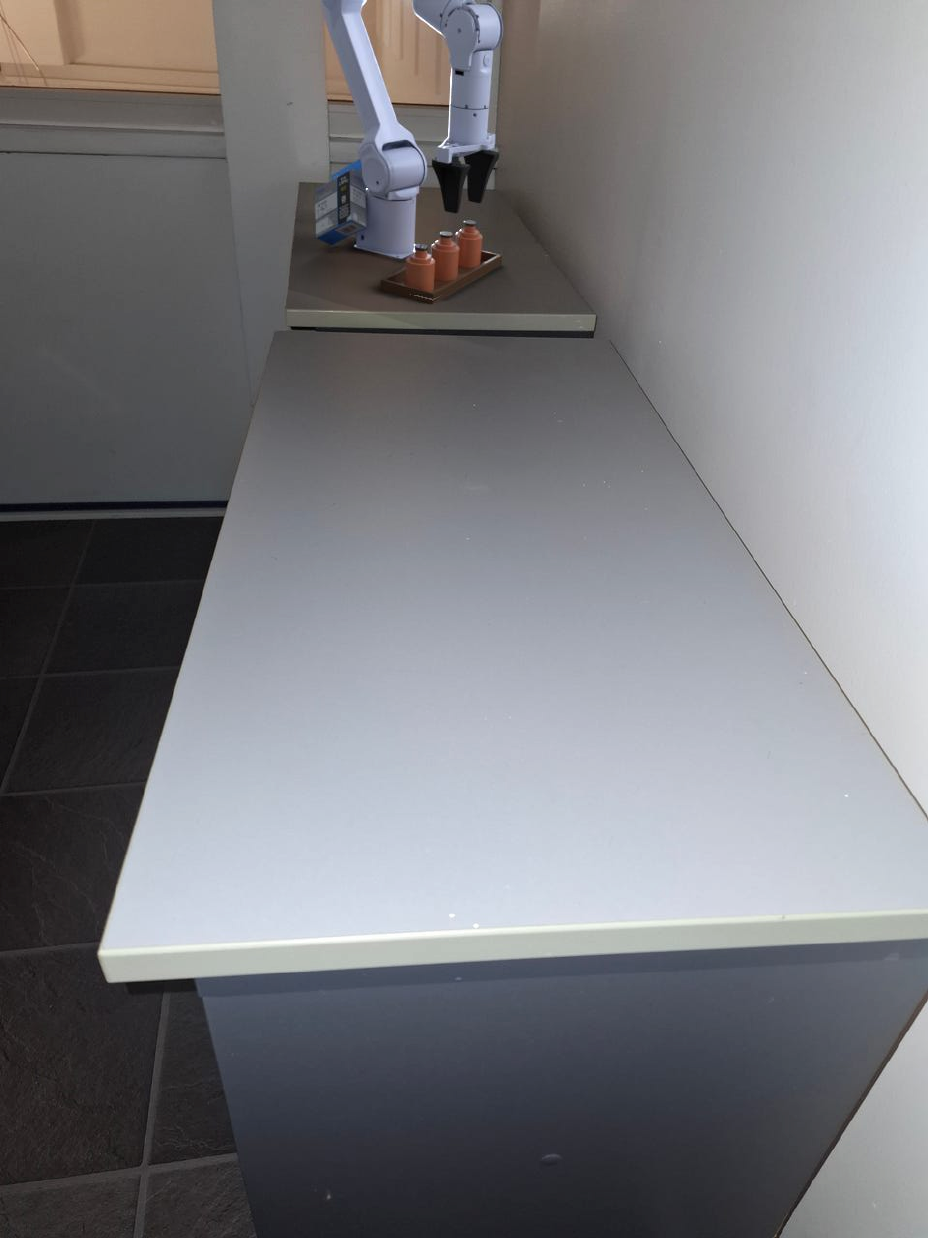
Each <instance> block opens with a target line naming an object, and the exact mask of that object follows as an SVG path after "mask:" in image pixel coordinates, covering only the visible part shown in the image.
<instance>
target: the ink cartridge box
mask: <svg viewBox="0 0 928 1238" xmlns="http://www.w3.org/2000/svg"><path fill="white" fill-rule="evenodd" d="M330 176H331V177H330V181H328V182H327V183H325V184H323V185H322V186H320V187H318V188H316V189H315V190H314V204H315V205H314V214H315V217H314V218H315V239H317V240H318V241H321V242H323V243H325V244H327V245H329V246H334V245H336V244H337V243H339V242H341V241H344V240H345V239H348V238H349V237H351V236H353V235H355V234H356V233H357V232H359V231H361V230H363V229H366V186H365V183H364V180H363V177H362V165H361V160H360V158H358V159H357V160H355V161H353V162H351V163H350V164H348V165H346V166H345V167H344V168H342V169H340V170H339V171H337V172H335V173H333V174H331V175H330Z"/></svg>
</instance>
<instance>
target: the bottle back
mask: <svg viewBox="0 0 928 1238" xmlns="http://www.w3.org/2000/svg"><path fill="white" fill-rule="evenodd" d="M463 226H464V227H463V228H461V229H460V230H459V231H457V232H456V233H455V241H454V242H455V243H456V245H457V246H458V247H459V262H458V266H460V267H464V268H475V267H477V266H479V265H480V262H481V251H482V250H483V239H484V238H483V235H482V234H481V233H480V231H479V230H477V229H476V227H477V221H475V220H469V219H468V220H464V221H463Z"/></svg>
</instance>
